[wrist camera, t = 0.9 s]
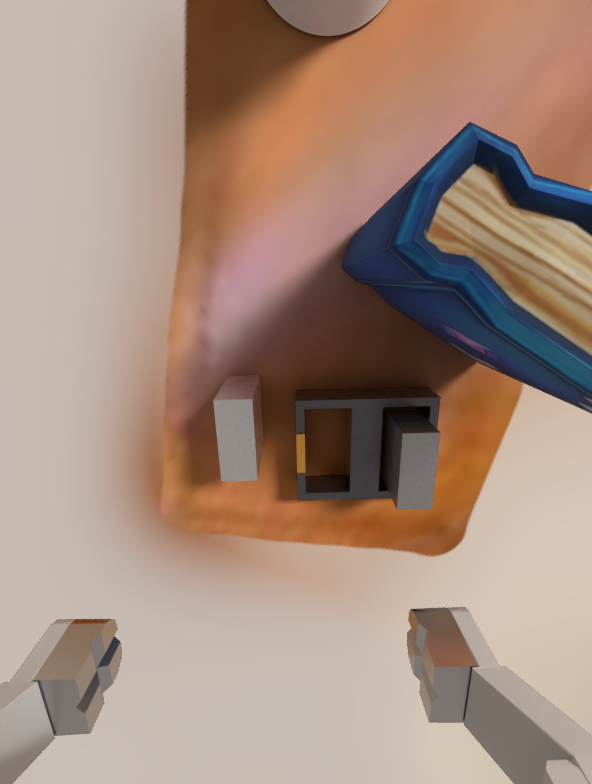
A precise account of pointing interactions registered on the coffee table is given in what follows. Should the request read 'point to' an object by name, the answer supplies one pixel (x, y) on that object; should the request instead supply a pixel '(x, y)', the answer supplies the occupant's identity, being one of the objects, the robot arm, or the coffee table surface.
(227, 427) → the block
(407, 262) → the book
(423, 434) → the rack
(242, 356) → the coffee table surface
